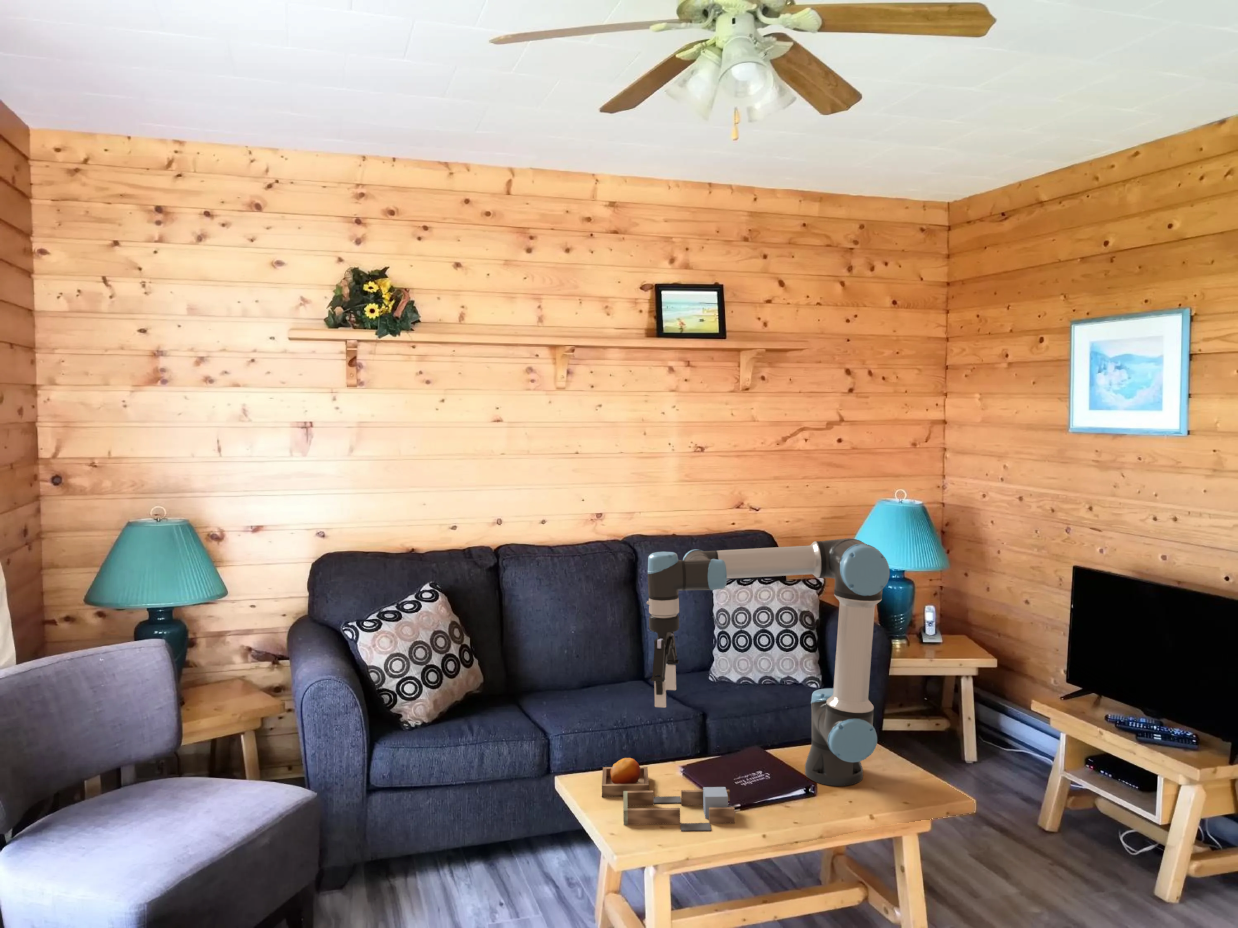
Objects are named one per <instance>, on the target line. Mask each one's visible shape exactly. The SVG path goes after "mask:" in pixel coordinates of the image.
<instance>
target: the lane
mask: <svg viewBox="0 0 1238 928" xmlns="http://www.w3.org/2000/svg"><path fill="white" fill-rule="evenodd" d="M726 791H727V795H728V801H731V796H730V795H731V794H730V793H731V791H730V789H726ZM622 799H623V801H622V802H623V808H622V809H623V810H622V811H623V826H625V825H626V826H627V825H629V826H632V825H635V826H636V825H639V826H640V825H644V826H645V825H680V832H711V831H712V828H711V824H712V825H713V824H719V825H720V824H736V822H735V821H736V820H735V818H736V817H735V812H736V811H735V810H736V809H735V807H733V806H728V807H709V819H708V822H689V823H688V822H686V823H685V822H683V823H682V822H681V807H660V808H659V807H654V806H655V805H657V804H658V805H659V804H661V805H662V804H666V805H667V804H669V805H670V804H681V806H688V807H689V806H703V789H682V790H681V791H680V795H678V796H676V795H675V796H674V795H673V796H672V795H671V796H669V795H668V796H666V795H665V796H654V790H649V791H623V797H622ZM628 807H635V808H628ZM636 807H637V808H636ZM640 807H643V808H640ZM644 807H646V808H644ZM647 807H648V808H647ZM651 807H652V808H651Z"/></svg>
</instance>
